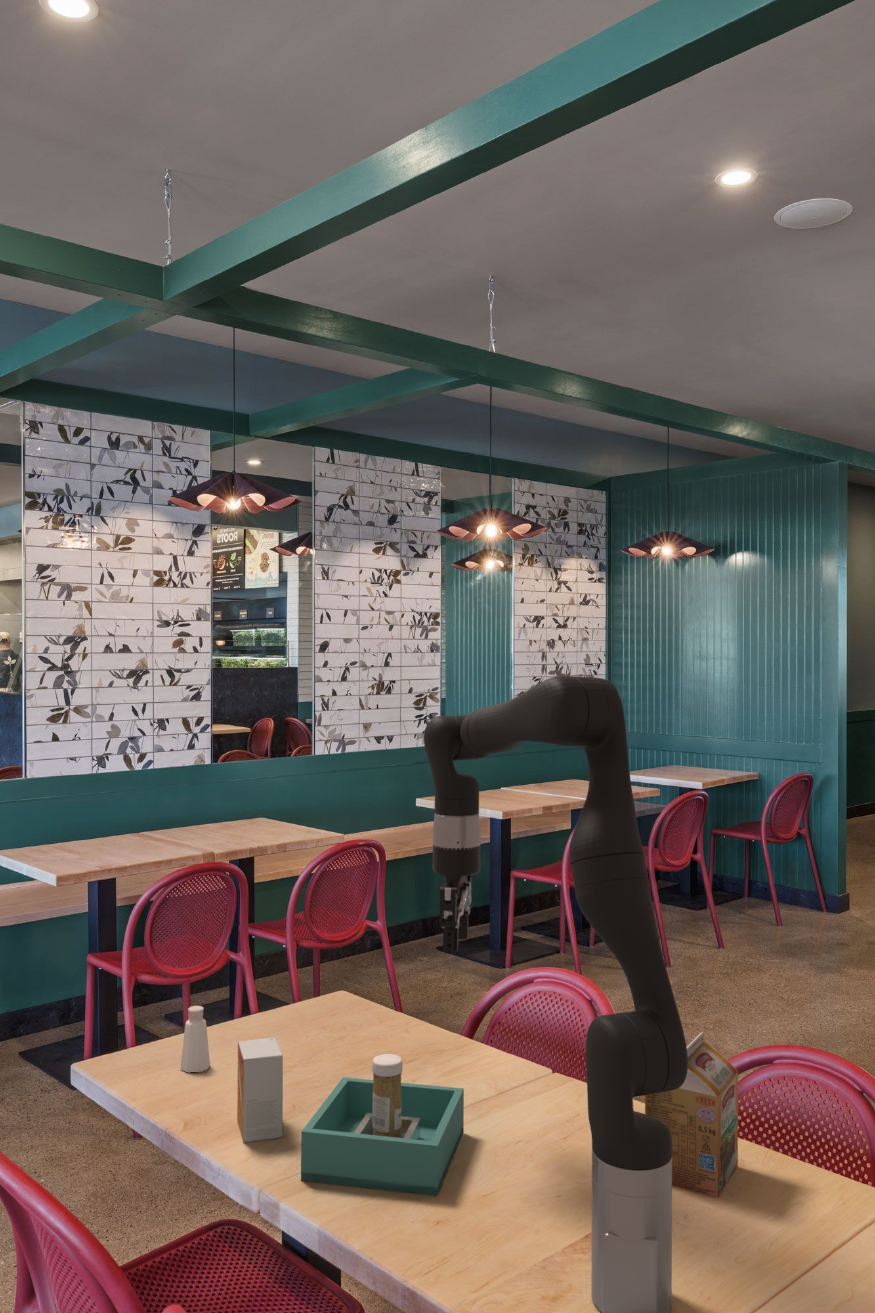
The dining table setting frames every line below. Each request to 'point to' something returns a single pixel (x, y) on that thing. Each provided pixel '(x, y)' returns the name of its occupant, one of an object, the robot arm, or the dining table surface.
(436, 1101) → the walled box
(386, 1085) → the sprinkles bottle
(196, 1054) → the salt shaker
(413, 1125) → the socket collar
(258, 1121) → the small box
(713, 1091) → the milk carton
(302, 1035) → the dining table surface
